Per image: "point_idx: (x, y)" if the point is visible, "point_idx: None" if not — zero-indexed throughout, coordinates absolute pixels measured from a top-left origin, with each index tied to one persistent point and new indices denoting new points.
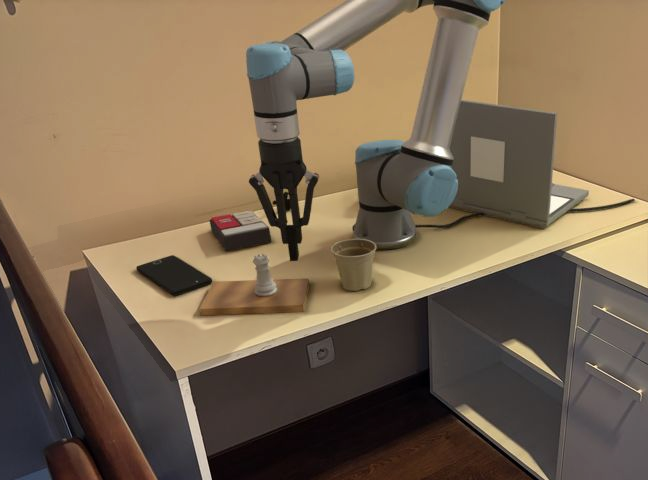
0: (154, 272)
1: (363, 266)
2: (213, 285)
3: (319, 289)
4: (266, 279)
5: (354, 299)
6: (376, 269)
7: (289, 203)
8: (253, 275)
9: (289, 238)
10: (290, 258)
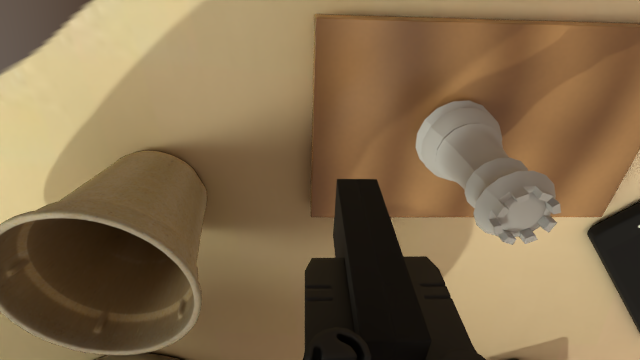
0: None
1: (61, 199)
2: (607, 194)
3: (277, 172)
4: (469, 141)
5: (140, 94)
6: None
7: None
8: (469, 260)
9: (391, 277)
10: (375, 187)
